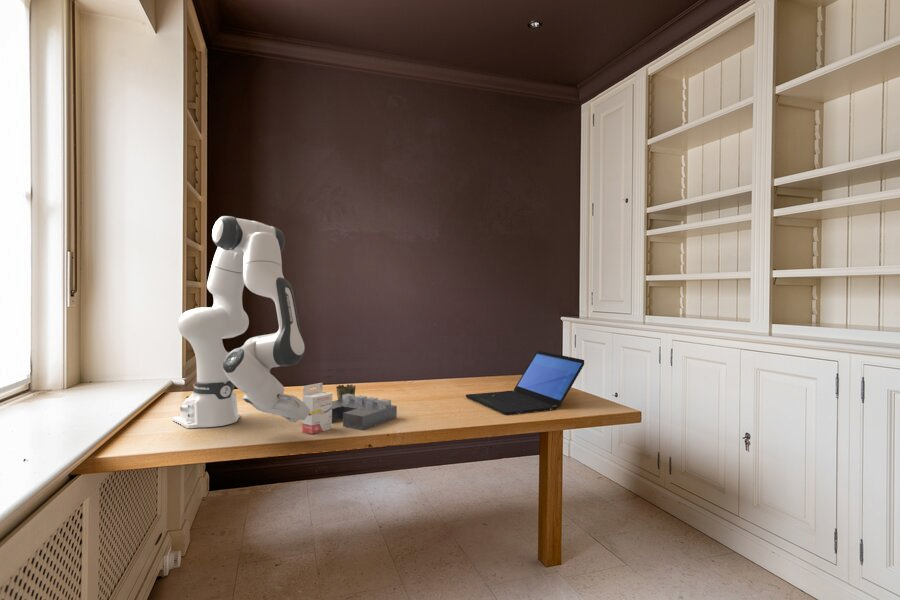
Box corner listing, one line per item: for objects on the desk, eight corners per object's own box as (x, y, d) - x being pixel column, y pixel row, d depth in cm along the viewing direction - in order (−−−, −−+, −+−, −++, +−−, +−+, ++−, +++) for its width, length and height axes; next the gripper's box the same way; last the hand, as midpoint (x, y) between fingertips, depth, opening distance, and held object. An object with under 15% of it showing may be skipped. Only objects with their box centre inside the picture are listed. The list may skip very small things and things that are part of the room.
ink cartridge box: (312, 434, 150) (313, 387, 150) (301, 432, 153) (301, 386, 153) (332, 428, 157) (333, 383, 157) (321, 426, 160) (322, 382, 160)
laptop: (464, 398, 207) (465, 353, 207) (537, 392, 223) (538, 350, 223) (504, 416, 177) (505, 363, 177) (586, 408, 192) (586, 359, 192)
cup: (336, 408, 184) (336, 388, 184) (335, 404, 192) (335, 384, 191) (356, 407, 186) (356, 387, 186) (354, 403, 194) (354, 383, 193)
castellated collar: (310, 419, 168) (310, 401, 168) (346, 409, 184) (346, 392, 183) (362, 430, 156) (362, 410, 156) (396, 418, 171) (396, 400, 171)
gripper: (298, 388, 135) (324, 415, 143) (251, 380, 146) (278, 407, 154) (285, 407, 131) (312, 434, 140) (238, 398, 142) (266, 424, 150)
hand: (294, 420), depth 147 cm, fingers closed
